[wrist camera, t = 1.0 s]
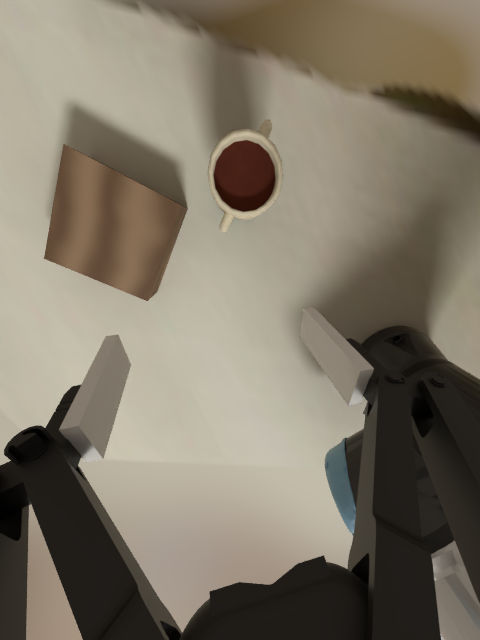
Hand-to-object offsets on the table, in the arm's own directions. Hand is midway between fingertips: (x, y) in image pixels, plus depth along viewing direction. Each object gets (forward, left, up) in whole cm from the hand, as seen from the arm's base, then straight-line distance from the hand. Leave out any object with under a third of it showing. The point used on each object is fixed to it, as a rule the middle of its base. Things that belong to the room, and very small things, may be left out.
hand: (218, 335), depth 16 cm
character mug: (+3, -12, -23) cm, 26 cm away
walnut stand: (+16, 0, -22) cm, 27 cm away
